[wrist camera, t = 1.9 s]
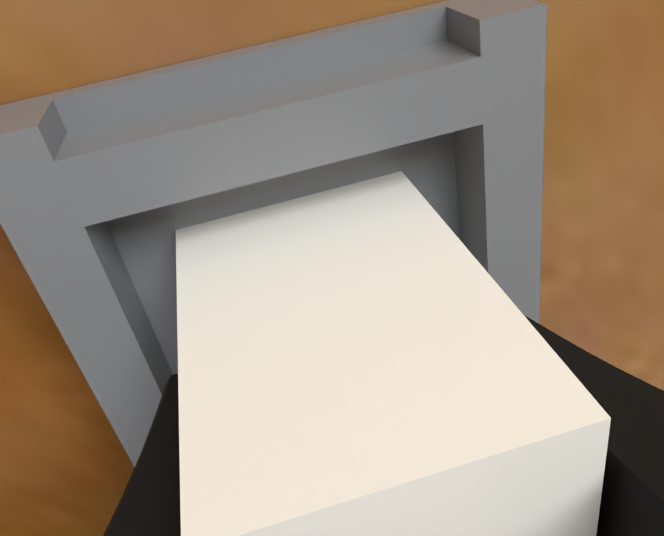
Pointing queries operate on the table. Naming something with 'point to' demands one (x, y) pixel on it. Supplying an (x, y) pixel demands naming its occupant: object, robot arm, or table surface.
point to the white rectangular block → (370, 381)
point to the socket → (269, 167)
